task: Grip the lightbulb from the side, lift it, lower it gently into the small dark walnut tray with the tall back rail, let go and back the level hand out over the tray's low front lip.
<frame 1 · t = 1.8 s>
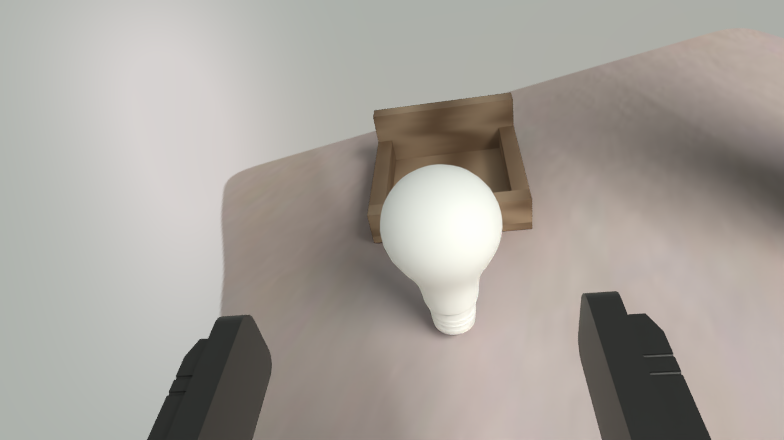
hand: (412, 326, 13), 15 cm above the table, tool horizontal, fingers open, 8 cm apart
cradle: (449, 189, 42), on the table
lightbulb: (455, 328, 31), on the table
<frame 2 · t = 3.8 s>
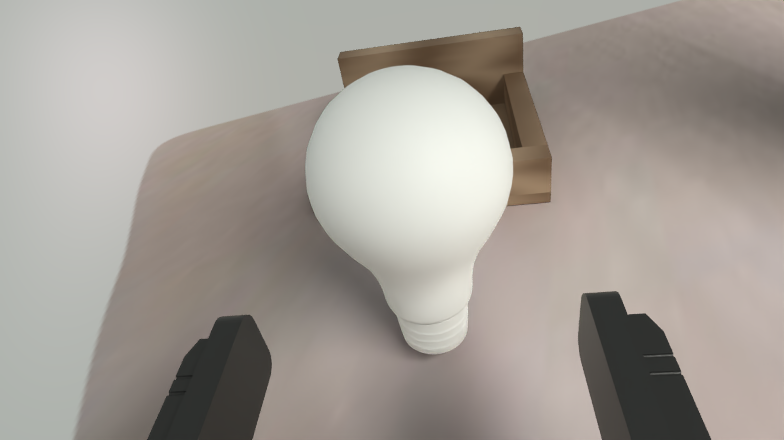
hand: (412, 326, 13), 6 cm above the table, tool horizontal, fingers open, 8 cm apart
cradle: (436, 154, 31), on the table
lightbulb: (437, 344, 20), on the table
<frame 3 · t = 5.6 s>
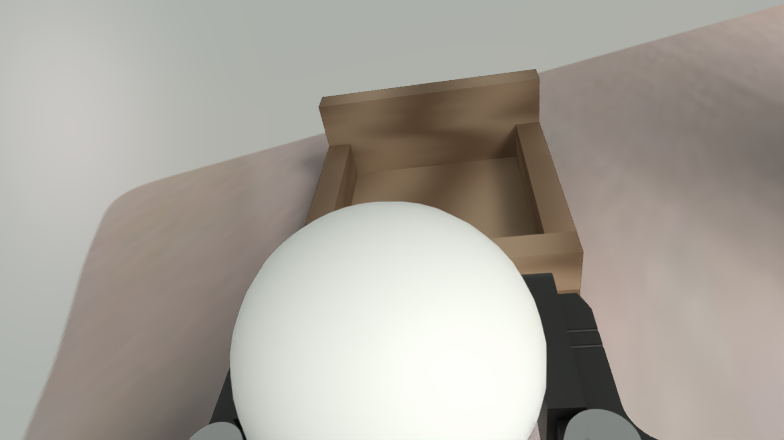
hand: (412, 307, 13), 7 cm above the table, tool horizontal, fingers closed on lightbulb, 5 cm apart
cradle: (437, 223, 26), on the table
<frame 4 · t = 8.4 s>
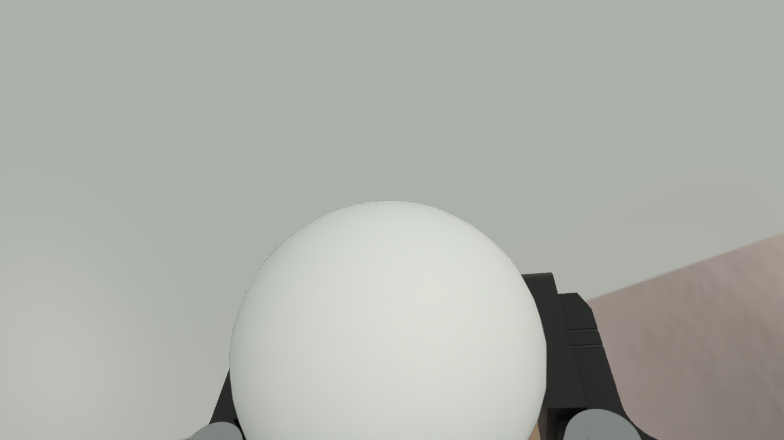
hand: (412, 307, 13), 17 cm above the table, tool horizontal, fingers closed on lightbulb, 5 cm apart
when the fingers open (7 cm above the table, at t = 11.4 s): lightbulb stays where it is, resting on cradle.
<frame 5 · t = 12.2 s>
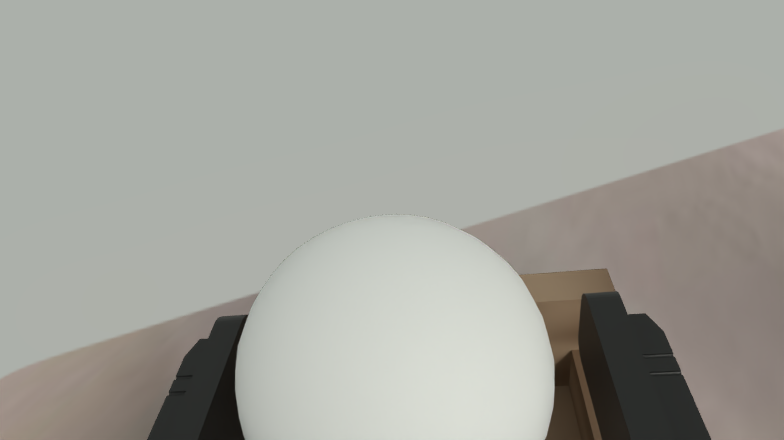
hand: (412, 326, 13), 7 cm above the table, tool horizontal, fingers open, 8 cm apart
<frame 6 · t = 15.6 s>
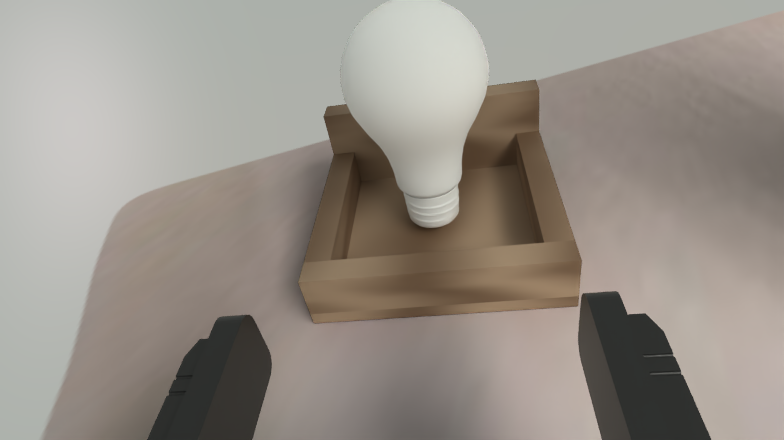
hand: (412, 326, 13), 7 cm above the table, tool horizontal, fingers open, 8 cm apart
cradle: (439, 230, 27), on the table
lightbulb: (436, 226, 26), resting on cradle
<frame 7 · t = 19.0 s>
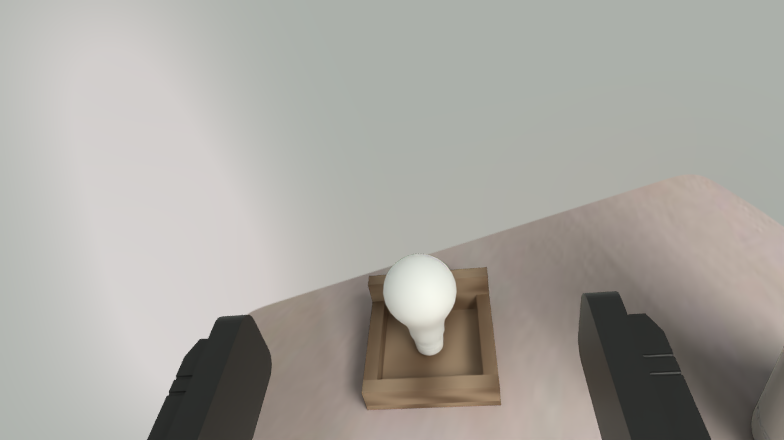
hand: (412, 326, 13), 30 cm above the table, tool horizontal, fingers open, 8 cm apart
cradle: (432, 352, 49), on the table
lightbulb: (431, 351, 48), resting on cradle
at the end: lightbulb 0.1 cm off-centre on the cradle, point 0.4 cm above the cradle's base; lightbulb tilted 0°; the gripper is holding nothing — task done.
